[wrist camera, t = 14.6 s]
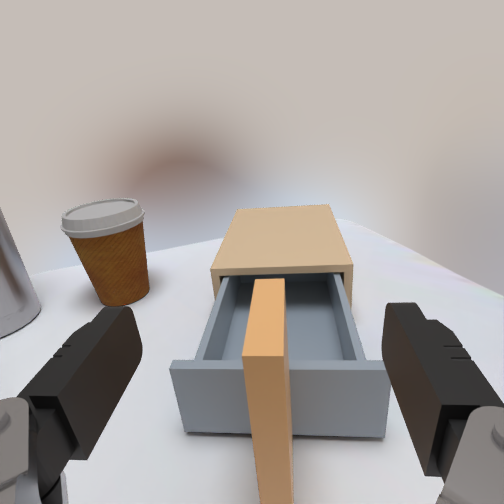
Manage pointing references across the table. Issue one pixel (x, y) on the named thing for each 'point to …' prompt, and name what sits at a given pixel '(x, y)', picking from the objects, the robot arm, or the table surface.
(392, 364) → the robot arm
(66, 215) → the disposable coffee cup
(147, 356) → the table surface
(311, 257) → the box lid
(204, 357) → the grey box
